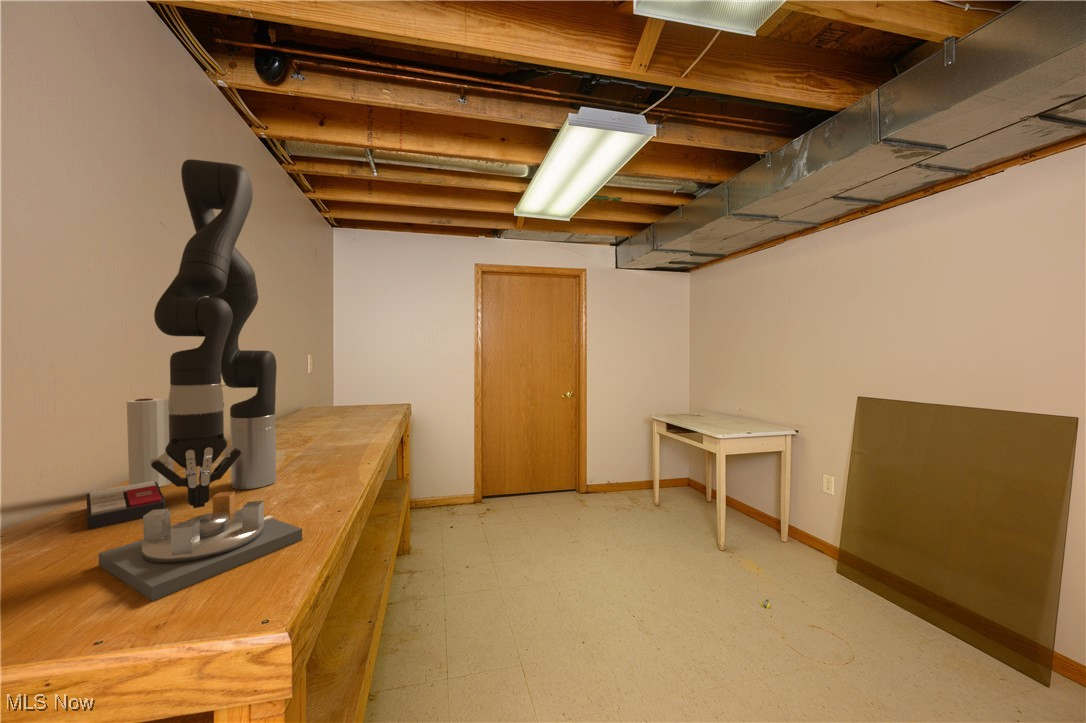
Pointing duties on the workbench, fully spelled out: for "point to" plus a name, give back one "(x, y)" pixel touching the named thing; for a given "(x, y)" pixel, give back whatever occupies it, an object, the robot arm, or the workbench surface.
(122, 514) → the calculator
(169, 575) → the base plate
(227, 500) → the lugged metal dish
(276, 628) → the workbench surface
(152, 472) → the paper towel roll
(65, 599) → the workbench surface
